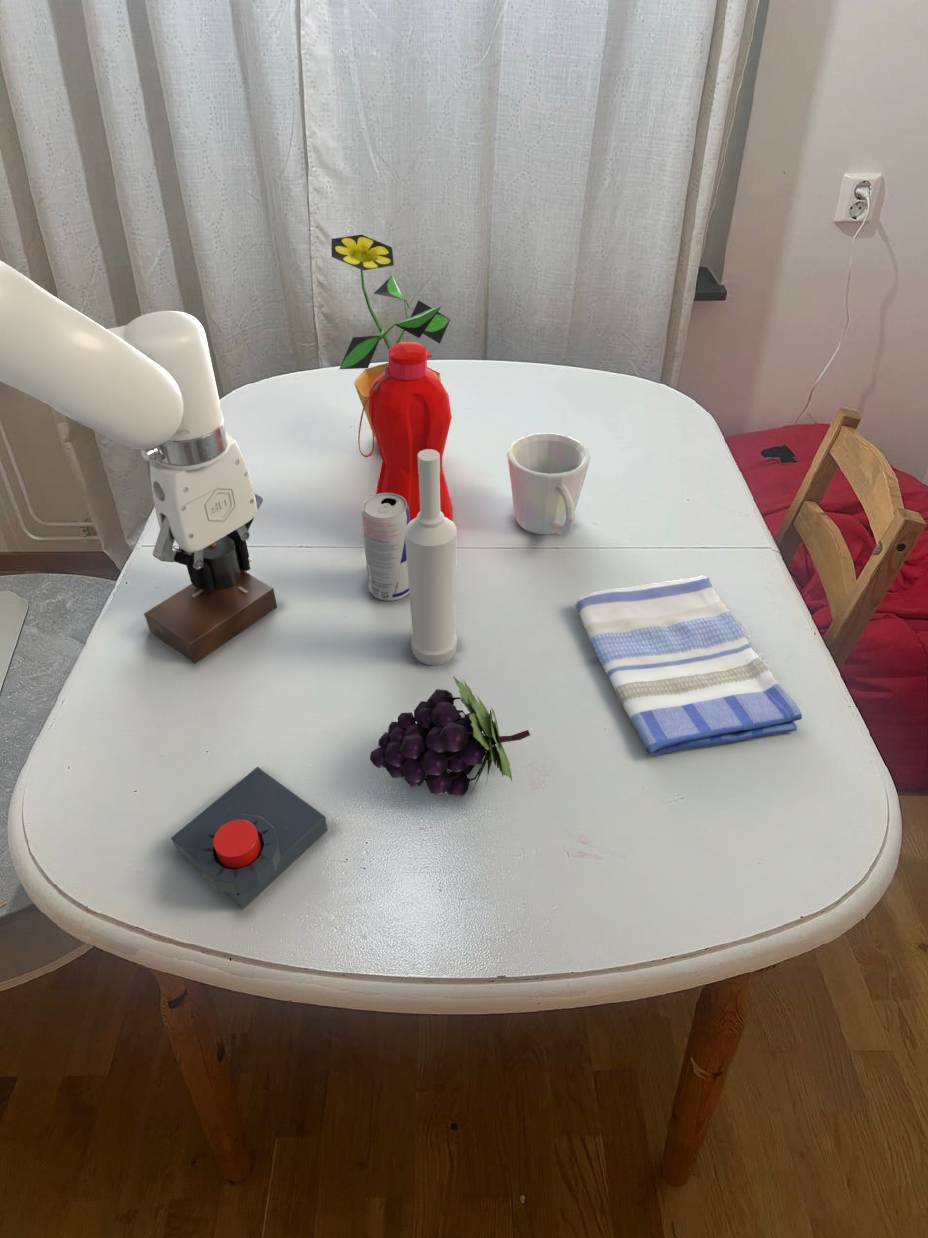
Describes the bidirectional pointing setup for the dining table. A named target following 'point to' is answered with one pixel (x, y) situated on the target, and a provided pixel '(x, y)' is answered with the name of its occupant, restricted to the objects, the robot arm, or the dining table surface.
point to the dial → (223, 563)
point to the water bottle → (408, 423)
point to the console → (209, 616)
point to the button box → (279, 826)
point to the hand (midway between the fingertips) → (222, 575)
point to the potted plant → (362, 349)
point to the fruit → (443, 743)
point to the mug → (547, 481)
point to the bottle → (431, 569)
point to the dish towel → (683, 666)
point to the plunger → (237, 843)
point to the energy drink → (386, 545)
